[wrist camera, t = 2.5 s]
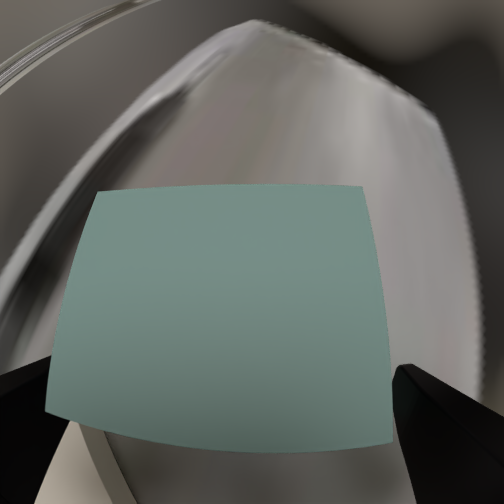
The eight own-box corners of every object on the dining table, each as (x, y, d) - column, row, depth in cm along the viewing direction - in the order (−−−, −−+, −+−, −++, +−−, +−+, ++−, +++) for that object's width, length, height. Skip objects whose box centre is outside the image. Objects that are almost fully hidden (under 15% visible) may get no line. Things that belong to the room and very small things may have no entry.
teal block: (304, 420, 14) (392, 442, 4) (192, 416, 14) (44, 411, 4) (304, 332, 16) (361, 186, 6) (198, 330, 17) (97, 191, 6)
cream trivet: (156, 536, 10) (140, 550, 8) (30, 539, 8) (10, 544, 6) (81, 361, 16) (58, 353, 14) (-20, 400, 14) (-41, 394, 11)
